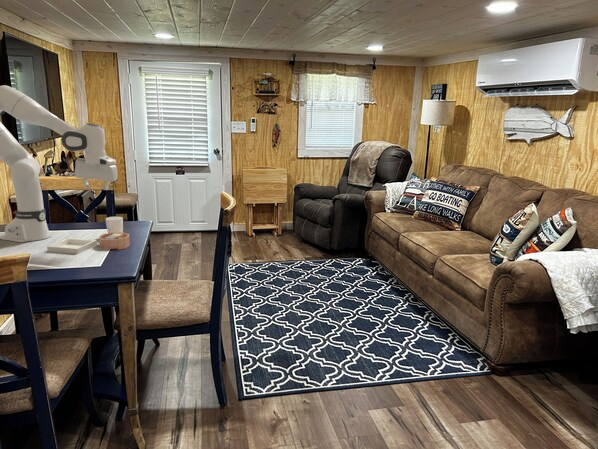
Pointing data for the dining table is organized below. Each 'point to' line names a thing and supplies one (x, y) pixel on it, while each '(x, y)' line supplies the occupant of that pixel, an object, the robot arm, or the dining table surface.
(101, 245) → the bowl
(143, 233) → the dining table surface
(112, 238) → the grey cube
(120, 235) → the tan cube
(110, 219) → the white cup
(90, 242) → the parts tray
